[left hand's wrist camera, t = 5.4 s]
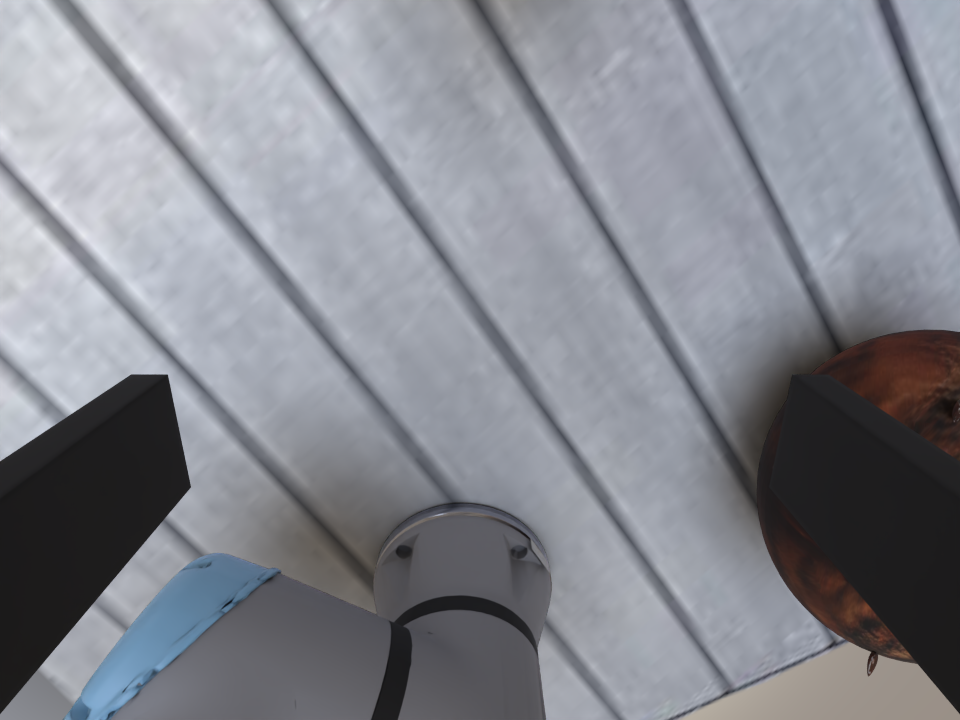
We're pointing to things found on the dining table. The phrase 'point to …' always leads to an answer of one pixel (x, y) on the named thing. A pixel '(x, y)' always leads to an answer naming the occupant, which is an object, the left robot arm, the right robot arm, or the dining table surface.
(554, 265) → the dining table surface
